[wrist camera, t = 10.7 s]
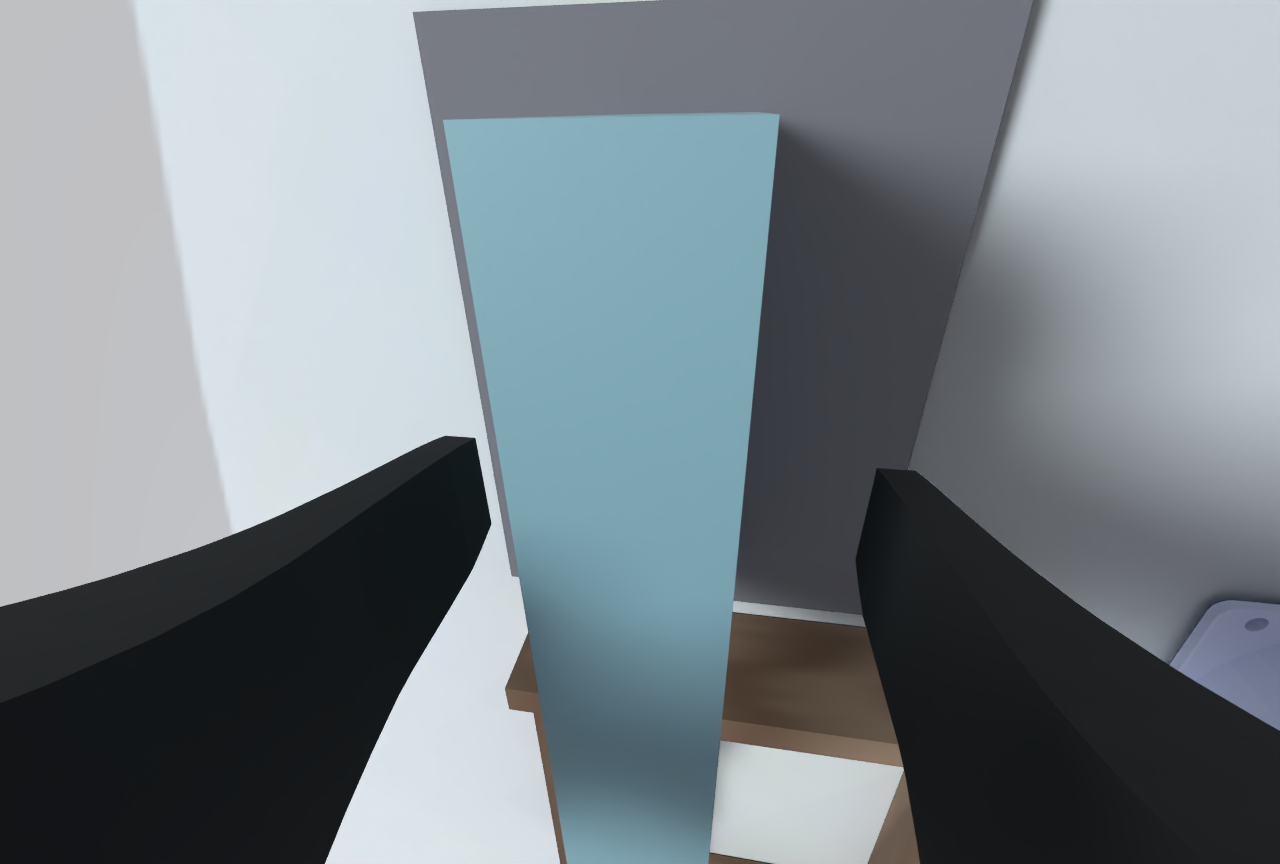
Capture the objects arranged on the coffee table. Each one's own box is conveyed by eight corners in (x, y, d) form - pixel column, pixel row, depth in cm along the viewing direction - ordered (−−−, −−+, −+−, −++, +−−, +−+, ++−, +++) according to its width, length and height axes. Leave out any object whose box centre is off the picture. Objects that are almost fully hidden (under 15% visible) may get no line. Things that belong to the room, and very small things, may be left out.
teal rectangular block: (756, 111, 12) (779, 115, 4) (722, 551, 18) (705, 897, 10) (637, 114, 12) (442, 120, 4) (644, 543, 18) (567, 870, 10)
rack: (988, 641, 18) (1045, 765, 15) (879, 893, 27) (898, 1006, 24) (545, 591, 20) (504, 688, 17) (579, 839, 29) (557, 935, 26)
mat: (1028, -14, 10) (1038, -18, 10) (865, 606, 18) (868, 615, 18) (422, 15, 12) (412, 12, 12) (515, 568, 20) (511, 576, 20)
